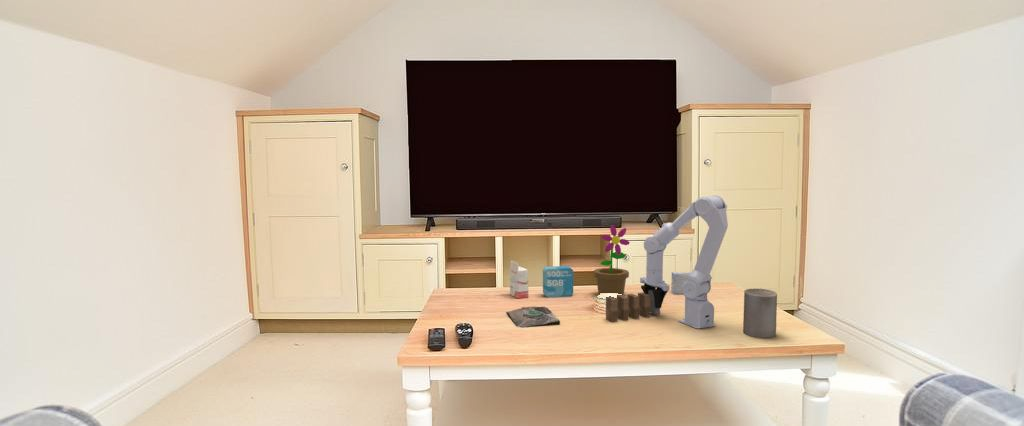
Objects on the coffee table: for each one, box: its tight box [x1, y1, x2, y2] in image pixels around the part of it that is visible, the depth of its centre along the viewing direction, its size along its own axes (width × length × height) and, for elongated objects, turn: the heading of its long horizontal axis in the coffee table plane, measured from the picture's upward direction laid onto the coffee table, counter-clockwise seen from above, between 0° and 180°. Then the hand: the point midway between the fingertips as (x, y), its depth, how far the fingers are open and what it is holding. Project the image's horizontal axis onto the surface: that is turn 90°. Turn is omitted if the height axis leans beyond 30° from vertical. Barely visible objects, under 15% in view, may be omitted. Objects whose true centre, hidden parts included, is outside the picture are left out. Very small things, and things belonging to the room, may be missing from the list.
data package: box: [542, 265, 574, 298], centre depth 226 cm, size 12×4×12 cm, turn 99°
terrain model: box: [505, 306, 561, 329], centre depth 195 cm, size 20×15×3 cm
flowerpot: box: [593, 224, 631, 296], centre depth 225 cm, size 14×14×30 cm
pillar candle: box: [742, 288, 778, 339], centre depth 175 cm, size 10×10×15 cm
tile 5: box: [605, 296, 619, 323], centre depth 191 cm, size 4×2×8 cm, turn 22°
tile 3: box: [626, 293, 640, 320], centre depth 195 cm, size 4×2×8 cm, turn 22°
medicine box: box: [670, 271, 691, 295], centre depth 229 cm, size 8×4×9 cm, turn 84°
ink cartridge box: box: [509, 260, 529, 299], centre depth 226 cm, size 9×5×15 cm, turn 25°
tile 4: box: [617, 295, 629, 322], centre depth 193 cm, size 4×2×8 cm, turn 23°
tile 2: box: [637, 291, 651, 319], centre depth 196 cm, size 4×2×8 cm, turn 22°
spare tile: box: [648, 290, 661, 316], centre depth 198 cm, size 4×2×8 cm, turn 23°
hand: (653, 306), depth 198 cm, fingers closed on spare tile, 4 cm apart
